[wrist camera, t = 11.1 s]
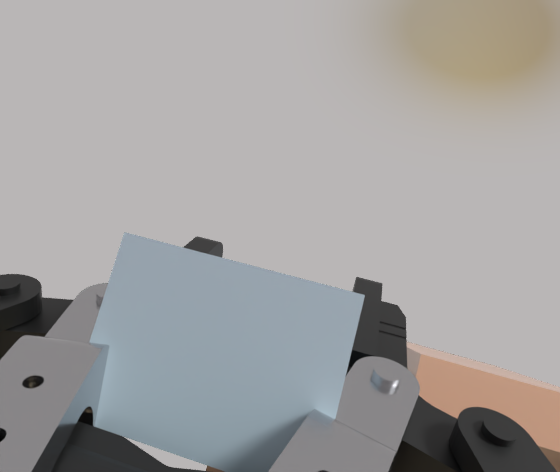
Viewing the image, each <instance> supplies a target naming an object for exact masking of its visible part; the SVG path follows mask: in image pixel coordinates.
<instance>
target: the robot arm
mask: <svg viewBox="0 0 560 472" xmlns="http://www.w3.org/2000/svg"><path fill="white" fill-rule="evenodd" d="M183 248H187V249H191V250H194V251H198V252H202V253H206V254H210V255H214V256H217V257H221V258H222V253H223V245H222V243H221V242H217V241H213V240H209V239H205V238H201V237H195V238H194V239H193V240H192V241H190V242H189V243H188V244H187V245H186V246H184V247H183ZM107 285H108V283H102V284H97V285H93V286H90V287H88V288H86V289H84V290H83V291H81V292H80V293H79V295H77V297H76V298H75V299H74V300H66V299H52V298H42V291H41V284H40V282H39V281H38V280H37V279H35V278H33V277H30V276H25V275H19V274H6V275H0V472H210V471H200V470H191V469H181V468H180V469H179V468H172V467H168V466H166V465H164V464H162V463H161V462H159V461H158V460H156V459H155V458H154V457H152V456H151V455H149V454H148V453H146V452H145V451H143V450H141V449H140V448H139V447H137V446H136V445H134V444H133V443H131V442H130V441H128V440H127V439H126V438H124V437H123V436H120V435H118V434H115V433H112V432H109V431H106V430H103V429H100V428H97V427H94V426H95V421H96V416H97V410H98V405H99V400H100V394H101V389H102V384H103V378H104V373H105V368H106V362H107V357H108V351H109V345H106V344H98V343H90V339H91V335H92V332H93V329H94V326H95V323H96V320H97V317H98V314H99V310H100V307H101V304H102V301H103V298H104V295H105V292H106V289H107ZM353 292H355V293H359V294H363V295H365V298H364V302H363V306H362V310H361V314H360V318H359V322H358V327H357V331H356V335H355V339H354V343H353V347H352V352H351V356H350V360H349V364H348V368H347V372H346V377H345V381H344V385H343V389H342V393H341V397H340V402H339V406H338V410H337V414H336V418H335V419H334V418H332V417H330V416H328V415H326V414H324V413H322V412H320V411H318V410H316V409H314V410H312V411H311V412H310V413H309V415H308V416H307V417H306V419H305V420H304V422H303V423H302V425H301V426H300V427H299V429H298V430H297V432H296V433H295V434H294V436H293V437H292V439H291V440H290V441H289V443H288V444H287V446H286V447H285V449H284V450H283V451H282V453H281V454H280V456H279V457H278V458H277V460H276V461H275V463H274V464H273V465H272V467H271V468H270V470H269V471H268V472H557V471H556V469H555V468H554V467H553V465H552V464H551V463H550V461H549V460H548V459H547V457H546V456H545V455H544V453H543V452H542V451H541V449H540V448H539V447H538V445H537V444H536V443H535V441H534V440H533V439H532V437H531V436H530V435H529V434H528V432H527V431H526V430H525V429H524V428H522V427H521V426H520V425H519V424H518V423H516V422H515V421H514V420H512V419H511V418H509V417H507V416H505V415H504V414H501V413H499V412H497V411H494V410H491V409H488V408H483V407H469V408H466V409H464V410H463V411H461V413H460V414H459V416H458V418H455V417H453V416H451V415H449V414H447V413H445V412H443V411H441V410H439V409H438V408H436V407H434V406H432V405H431V404H429V403H428V402H426V401H425V400H424V399H423V398H422V397H420V396H419V392H420V385H419V382H418V380H417V379H416V377H415V376H414V375H413V374H412V373H411V372H410V371H409V370H408V368H407V341H406V317H405V315H404V314H403V313H402V311H401V310H400V308H399V307H398V306H397V305H394V304H390V303H387V302H382V301H381V295H382V283H378V282H374V281H370V280H367V279H363V278H359V277H356V280H355V284H354V288H353Z"/></svg>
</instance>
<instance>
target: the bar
mask: <svg viewBox="0 0 560 472" xmlns="http://www.w3.org/2000/svg"><path fill="white" fill-rule="evenodd" d="M364 298H365V295H363V294H359V293H355V292H351V291H347V290H343V289H340V288H336V287H332V286H328V285H324V284H320V283H316V282H313V281H309V280H305V279H301V278H297V277H294V276H290V275H286V274H282V273H278V272H275V271H271V270H267V269H263V268H259V267H255V266H252V265H247V264H244V263H240V262H236V261H233V260H229V259H225V258H221V257H217V256H214V255H210V254H206V253H202V252H198V251H194V250H191V249H187V248H183V247H179V246H175V245H171V244H168V243H163V242H160V241H156V240H152V239H148V238H145V237H141V236H137V235H133V234H129V233H124V235H123V239H122V242H121V245H120V248H119V251H118V254H117V257H116V261H115V264H114V267H113V270H112V273H111V276H110V279H109V283H108V285H107V289H106V292H105V295H104V298H103V301H102V304H101V307H100V310H99V314H98V317H97V320H96V323H95V326H94V329H93V332H92V335H91V339H90V343H98V344H106V345H109V351H108V357H107V362H106V368H105V373H104V378H103V384H102V389H101V394H100V400H99V405H98V410H97V416H96V421H95V426H94V427H97V428H100V429H103V430H106V431H109V432H112V433H115V434H118V435H121V436H123V437H126V438H129V439H132V440H135V441H138V442H141V443H144V444H147V445H150V446H152V447H155V448H159V449H161V450H164V451H167V452H170V453H173V454H176V455H179V456H181V457H184V458H187V459H190V460H193V461H196V462H199V463H202V464H205V465H208V466H210V467H213V468H216V469H219V470H222V471H225V472H268V471H269V470H270V468H271V467H272V465H273V464H274V463H275V461H276V460H277V458H278V457H279V456H280V454H281V453H282V451H283V450H284V449H285V447H286V446H287V444H288V443H289V441H290V440H291V439H292V437H293V436H294V434H295V433H296V432H297V430H298V429H299V427H300V426H301V425H302V423H303V422H304V420H305V419H306V417H307V416H308V415H309V413H310V412H311V411H312V410H314V409H316V410H318V411H320V412H322V413H324V414H326V415H328V416H330V417H332V418H334V419H335V418H336V414H337V410H338V406H339V402H340V397H341V393H342V389H343V385H344V381H345V377H346V372H347V368H348V364H349V360H350V356H351V352H352V347H353V343H354V339H355V335H356V331H357V327H358V322H359V318H360V314H361V310H362V306H363V302H364Z"/></svg>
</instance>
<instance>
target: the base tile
mask: <svg viewBox="0 0 560 472" xmlns="http://www.w3.org/2000/svg"><path fill="white" fill-rule="evenodd" d="M407 368H408V370H409V371H410V372H411V373H412V374H413V375H414V376H415V377H416V379H417V380H418V382H419V385H420V392H419V396H420V397H422V398H423V399H424V400H425V401H426V402H428V403H429V404H431V405H432V406H434V407H436V408H438V409H439V410H441V411H443V412H445V413H447V414H449V415H451V416H453V417H455V418H458V416H459V414H460V413H461V411H463V410H464V409H466V408H469V407H483V408H488V409H491V410H494V411H497V412H499V413H501V414H504V415H505V416H507V417H509V418H511V419H512V420H514V421H515V422H516V423H518V424H519V425H520V426H521V427H522V428H524V429H525V430H526V431H527V432H528V434H529V435H530V436H531V437H532V439H533V440H534V441H535V443H536V444H537V445H538V446H540V447H544V448H547V449H550V450H554V451H557V452H560V387H557V386H554V385H551V384H548V383H545V382H542V381H539V380H536V379H533V378H530V377H527V376H524V375H521V374H518V373H515V372H512V371H509V370H506V369H503V368H500V367H497V366H494V365H490V364H486V363H483V362H479V361H476V360H472V359H468V358H465V357H461V356H457V355H454V354H450V353H446V352H443V351H439V350H436V349H432V348H428V347H424V346H421V345H417V344H413V343H410V342H407Z"/></svg>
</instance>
